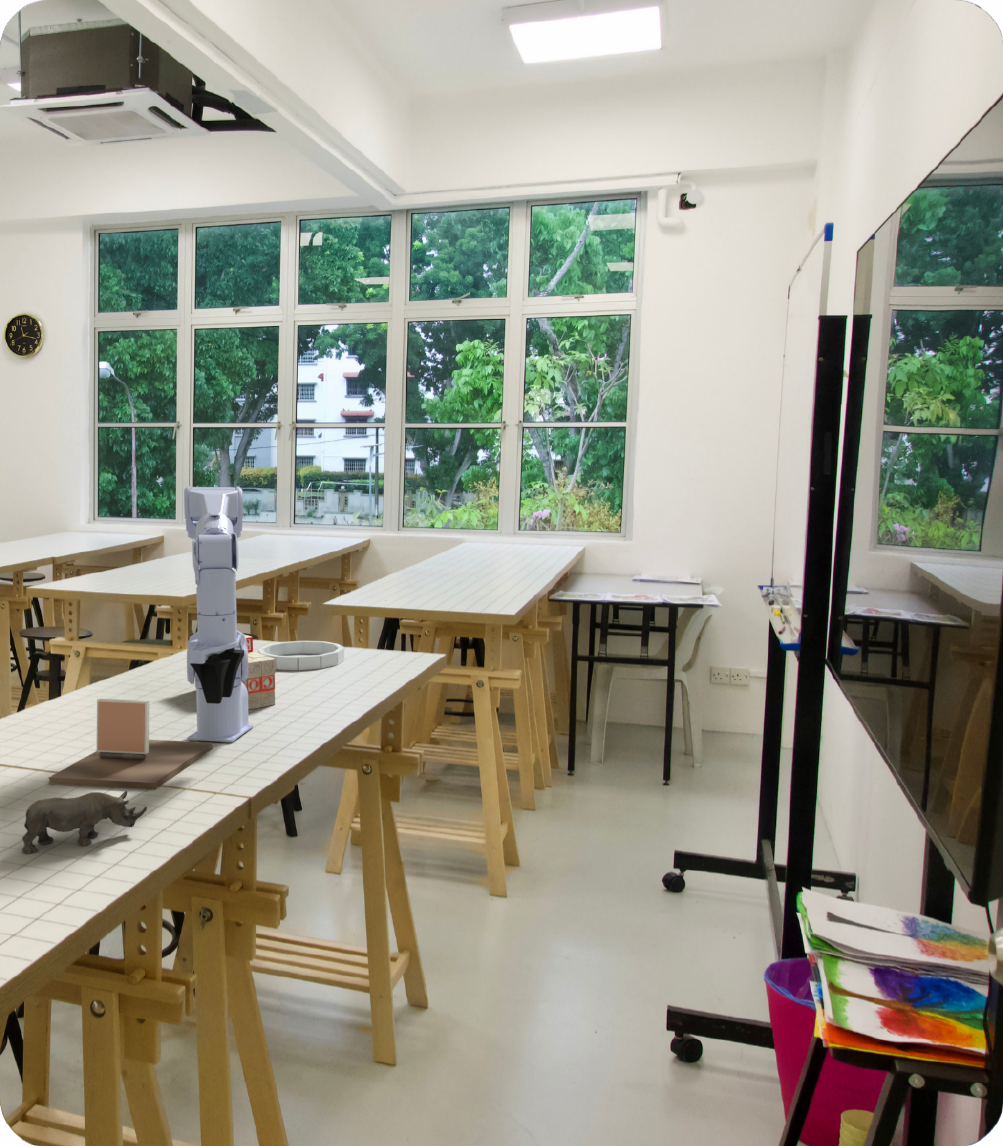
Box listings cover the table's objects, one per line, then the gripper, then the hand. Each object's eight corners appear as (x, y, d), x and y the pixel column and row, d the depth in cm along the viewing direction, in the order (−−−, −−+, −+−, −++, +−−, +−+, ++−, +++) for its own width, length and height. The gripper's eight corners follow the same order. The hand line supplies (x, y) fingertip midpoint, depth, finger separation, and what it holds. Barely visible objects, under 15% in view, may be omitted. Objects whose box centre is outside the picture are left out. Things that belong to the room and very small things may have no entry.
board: (119, 744, 140) (119, 732, 140) (212, 748, 139) (212, 736, 138) (49, 783, 122) (48, 770, 122) (155, 789, 120) (154, 776, 120)
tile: (100, 698, 131) (96, 699, 130) (149, 700, 130) (146, 701, 129) (99, 750, 131) (96, 751, 130) (148, 752, 130) (145, 754, 129)
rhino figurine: (148, 837, 105) (147, 790, 104) (20, 857, 99) (18, 807, 98) (147, 825, 108) (145, 779, 108) (24, 843, 103) (21, 795, 102)
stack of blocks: (276, 705, 166) (275, 643, 164) (246, 711, 161) (245, 647, 160) (227, 684, 181) (226, 627, 180) (198, 689, 177) (197, 631, 175)
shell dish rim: (277, 651, 215) (276, 639, 215) (352, 654, 213) (352, 642, 213) (245, 668, 196) (245, 655, 196) (328, 671, 194) (328, 658, 194)
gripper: (212, 605, 137) (214, 687, 139) (168, 619, 123) (171, 711, 124) (254, 606, 136) (256, 688, 138) (215, 621, 122) (217, 713, 124)
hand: (218, 699), depth 131 cm, fingers open, 3 cm apart
